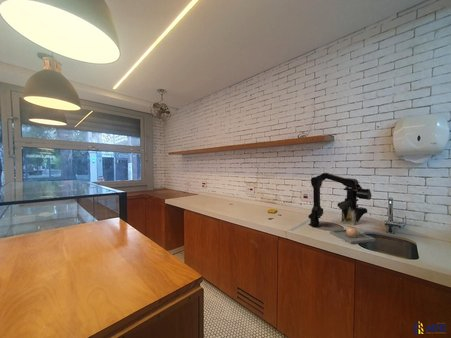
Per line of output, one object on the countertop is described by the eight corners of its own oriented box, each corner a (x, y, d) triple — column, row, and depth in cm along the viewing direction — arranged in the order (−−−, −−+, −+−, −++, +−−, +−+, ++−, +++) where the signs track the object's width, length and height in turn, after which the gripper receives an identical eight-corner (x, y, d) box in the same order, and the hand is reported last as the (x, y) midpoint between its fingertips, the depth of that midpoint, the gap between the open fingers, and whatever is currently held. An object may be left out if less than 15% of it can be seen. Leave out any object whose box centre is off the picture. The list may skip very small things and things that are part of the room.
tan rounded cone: (343, 235, 127) (344, 226, 127) (351, 234, 128) (351, 226, 128) (351, 238, 121) (351, 229, 121) (358, 237, 123) (359, 229, 122)
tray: (330, 233, 132) (330, 230, 132) (351, 231, 135) (351, 228, 135) (351, 244, 115) (351, 241, 114) (375, 241, 118) (375, 238, 118)
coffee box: (341, 222, 155) (341, 203, 155) (344, 221, 159) (344, 202, 158) (353, 225, 148) (353, 205, 147) (356, 223, 151) (357, 204, 151)
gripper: (331, 195, 132) (330, 216, 133) (353, 200, 114) (352, 225, 114) (344, 194, 134) (344, 215, 135) (368, 200, 116) (367, 224, 116)
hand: (351, 219), depth 125 cm, fingers open, 9 cm apart
